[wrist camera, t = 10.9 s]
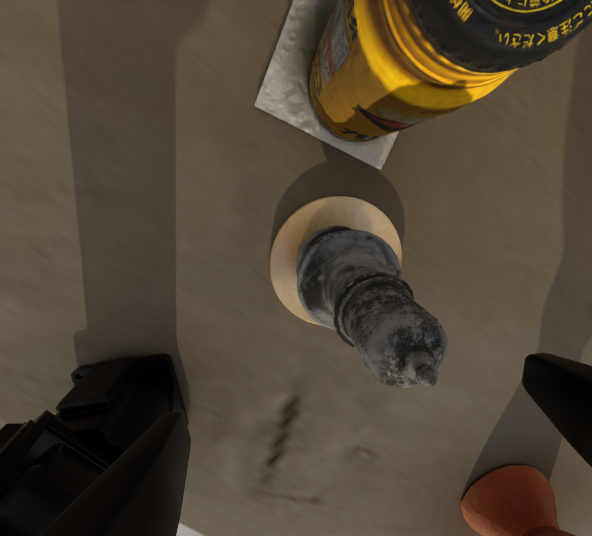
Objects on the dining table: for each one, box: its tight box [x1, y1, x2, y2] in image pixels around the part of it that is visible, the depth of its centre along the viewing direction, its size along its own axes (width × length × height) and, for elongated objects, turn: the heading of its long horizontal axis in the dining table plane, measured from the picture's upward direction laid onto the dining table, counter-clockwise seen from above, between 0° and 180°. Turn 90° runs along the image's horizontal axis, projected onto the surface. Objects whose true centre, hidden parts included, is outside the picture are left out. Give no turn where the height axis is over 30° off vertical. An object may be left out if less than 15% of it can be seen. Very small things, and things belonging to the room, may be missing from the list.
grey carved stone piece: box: [296, 226, 447, 388], centre depth 14 cm, size 6×6×12 cm
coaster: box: [269, 196, 402, 325], centre depth 20 cm, size 9×9×1 cm
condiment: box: [254, 0, 592, 170], centre depth 11 cm, size 7×8×12 cm
